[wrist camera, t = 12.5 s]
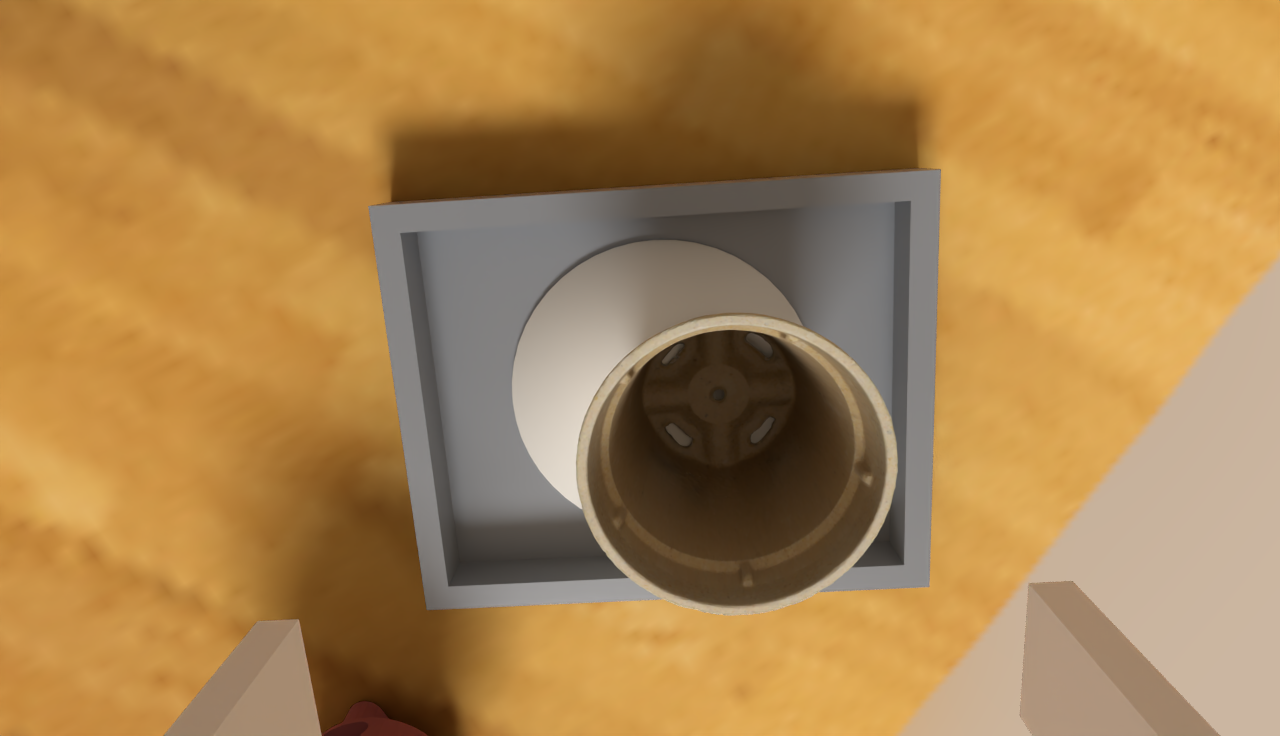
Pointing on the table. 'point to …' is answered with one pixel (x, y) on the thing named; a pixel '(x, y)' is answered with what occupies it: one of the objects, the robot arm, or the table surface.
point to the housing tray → (614, 326)
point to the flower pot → (736, 465)
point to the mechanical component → (371, 723)
